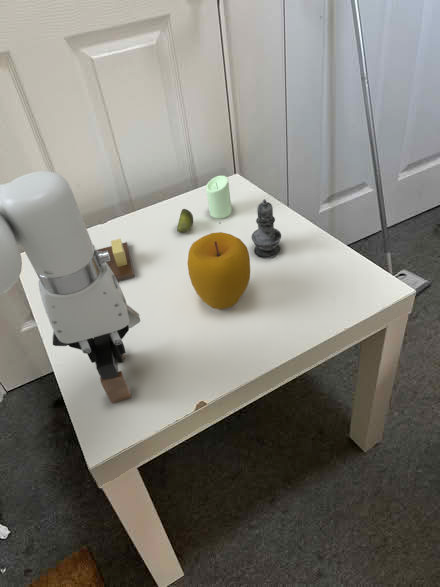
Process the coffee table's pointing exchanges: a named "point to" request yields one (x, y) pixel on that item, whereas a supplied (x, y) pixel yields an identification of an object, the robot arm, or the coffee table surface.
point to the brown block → (116, 387)
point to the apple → (219, 269)
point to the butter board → (121, 271)
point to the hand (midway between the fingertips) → (110, 358)
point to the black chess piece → (266, 233)
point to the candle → (219, 197)
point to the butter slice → (119, 252)
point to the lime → (185, 221)
